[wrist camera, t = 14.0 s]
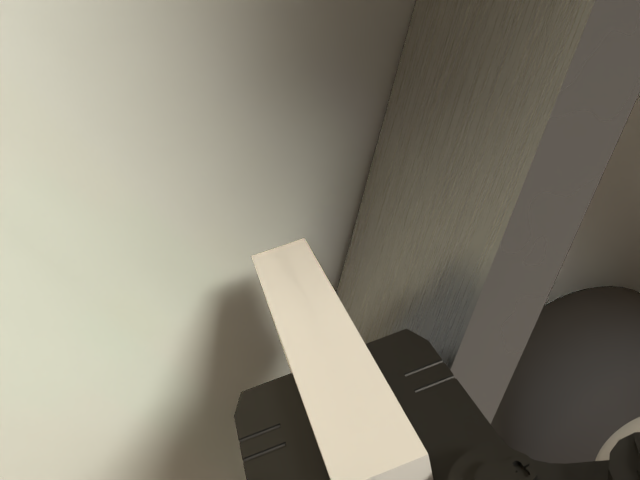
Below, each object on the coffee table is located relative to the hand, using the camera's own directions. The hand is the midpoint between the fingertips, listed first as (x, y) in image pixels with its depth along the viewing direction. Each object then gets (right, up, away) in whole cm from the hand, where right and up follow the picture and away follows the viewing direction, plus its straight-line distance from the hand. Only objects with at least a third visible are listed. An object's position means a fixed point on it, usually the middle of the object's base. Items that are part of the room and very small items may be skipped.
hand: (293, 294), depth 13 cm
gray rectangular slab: (+2, -1, +3) cm, 4 cm away
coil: (+10, -4, +8) cm, 13 cm away
